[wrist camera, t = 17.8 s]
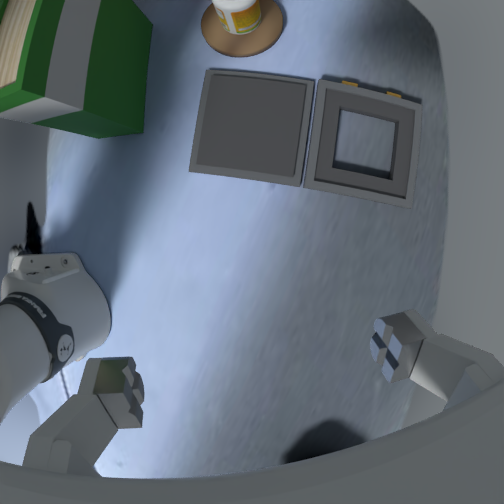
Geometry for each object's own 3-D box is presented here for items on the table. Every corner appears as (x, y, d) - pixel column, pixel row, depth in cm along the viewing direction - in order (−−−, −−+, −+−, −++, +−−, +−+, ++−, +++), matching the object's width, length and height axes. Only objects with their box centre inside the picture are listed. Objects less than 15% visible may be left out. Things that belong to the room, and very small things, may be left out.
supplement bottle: (267, 10, 34) (262, -31, 24) (253, 39, 35) (245, 2, 25) (230, 2, 34) (217, -38, 24) (215, 30, 35) (198, -7, 25)
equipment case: (190, 172, 40) (186, 171, 38) (208, 67, 37) (204, 62, 36) (405, 207, 39) (411, 208, 37) (416, 104, 36) (422, 100, 34)
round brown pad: (196, 55, 37) (193, 51, 36) (211, -5, 35) (209, -10, 34) (277, 61, 37) (277, 56, 35) (286, -1, 35) (287, -6, 33)
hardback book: (109, 34, 37) (15, -37, 14) (152, 24, 37) (70, -67, 13) (98, 138, 40) (-30, 112, 17) (143, 132, 40) (21, 89, 16)
